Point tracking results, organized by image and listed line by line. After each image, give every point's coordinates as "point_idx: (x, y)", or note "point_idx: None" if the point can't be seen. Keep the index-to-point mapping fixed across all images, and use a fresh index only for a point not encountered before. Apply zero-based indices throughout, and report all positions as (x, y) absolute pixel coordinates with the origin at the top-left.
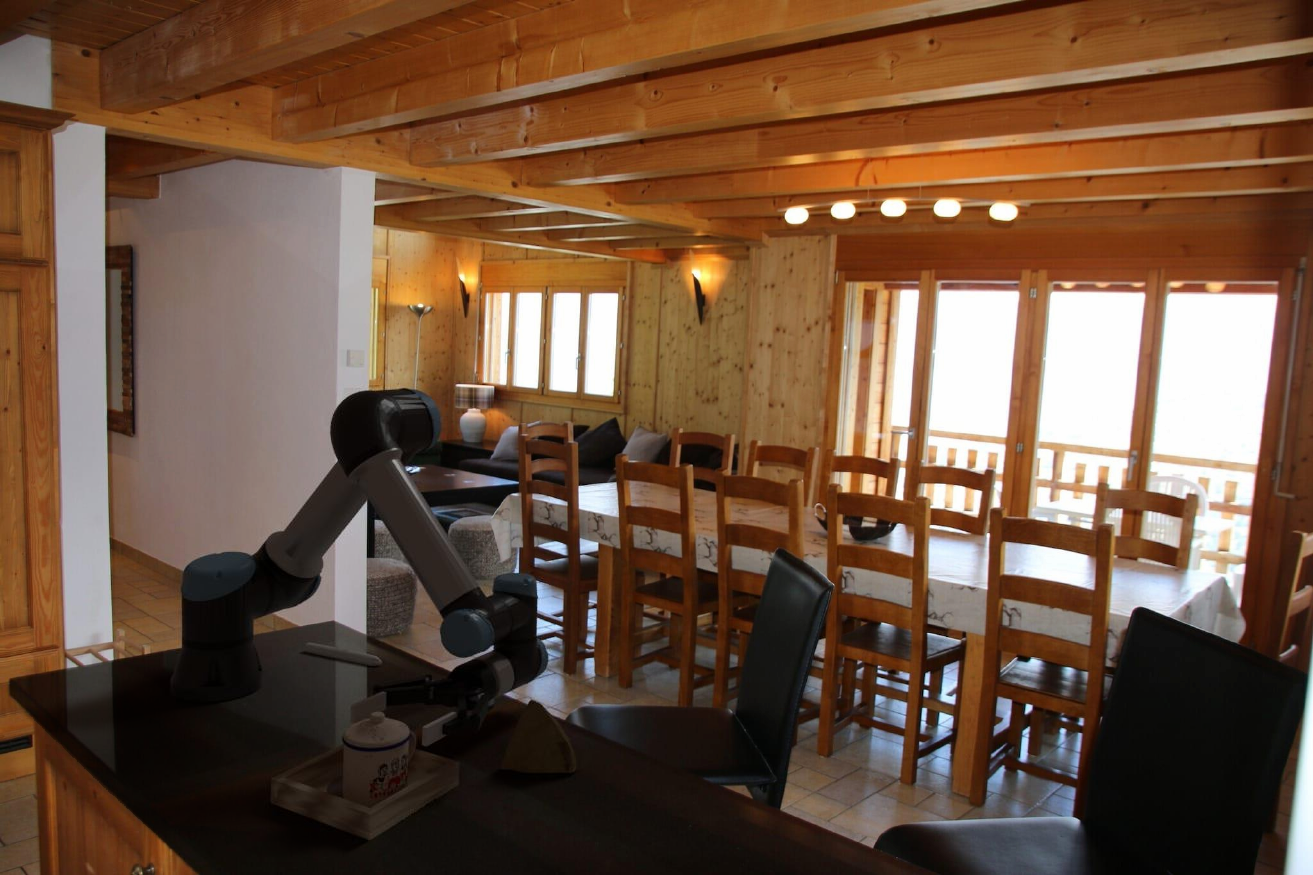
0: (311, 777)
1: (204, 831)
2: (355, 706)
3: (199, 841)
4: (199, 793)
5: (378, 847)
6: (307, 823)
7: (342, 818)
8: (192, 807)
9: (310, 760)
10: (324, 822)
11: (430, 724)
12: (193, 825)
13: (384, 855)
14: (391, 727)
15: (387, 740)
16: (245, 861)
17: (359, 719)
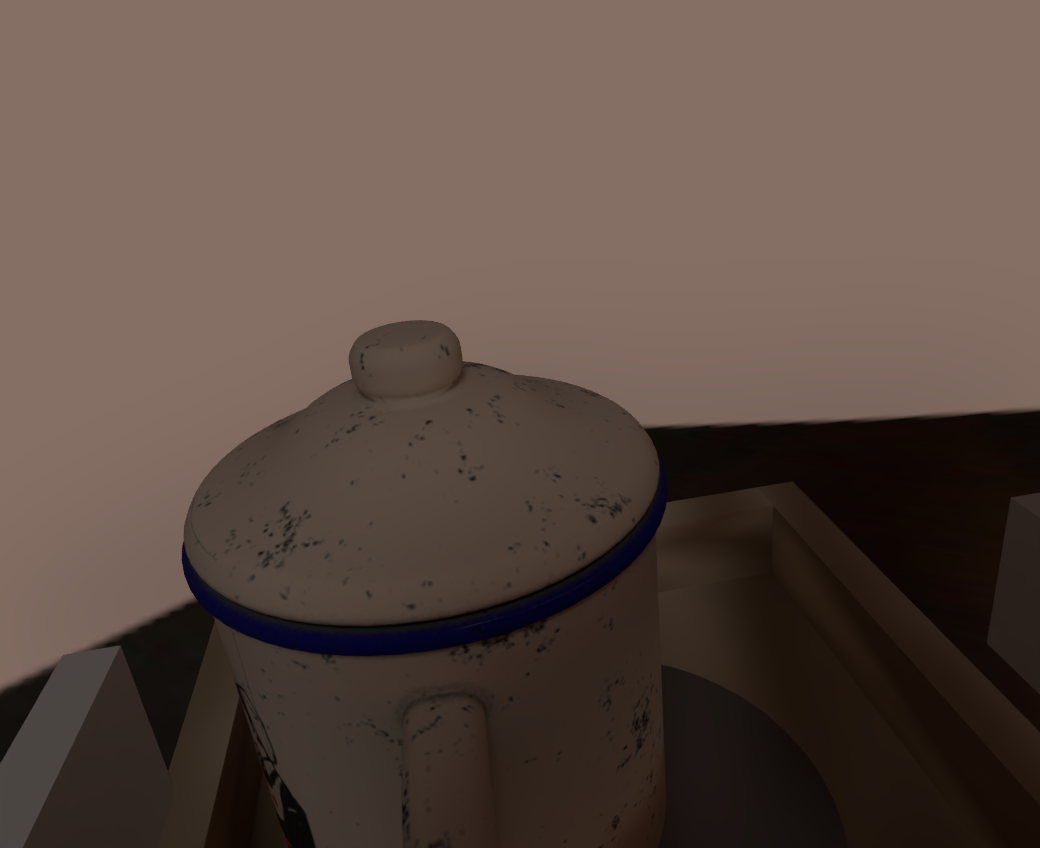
0: (848, 657)
1: (717, 449)
2: (1015, 507)
3: (670, 437)
4: (997, 481)
5: (195, 666)
6: None
7: None
8: (893, 457)
9: (907, 606)
10: None
11: (57, 717)
12: (770, 443)
13: (142, 656)
14: (287, 439)
15: (247, 442)
16: None
17: (1032, 668)
